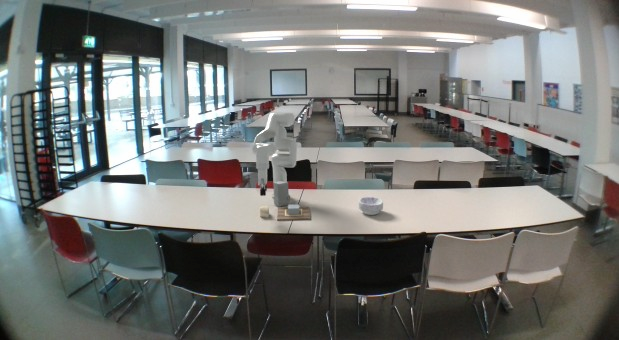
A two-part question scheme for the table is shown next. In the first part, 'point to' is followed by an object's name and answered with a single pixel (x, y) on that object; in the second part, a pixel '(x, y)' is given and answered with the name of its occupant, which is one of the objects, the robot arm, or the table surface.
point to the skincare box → (281, 193)
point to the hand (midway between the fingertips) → (263, 193)
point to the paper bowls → (370, 205)
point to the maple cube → (264, 211)
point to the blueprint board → (282, 212)
